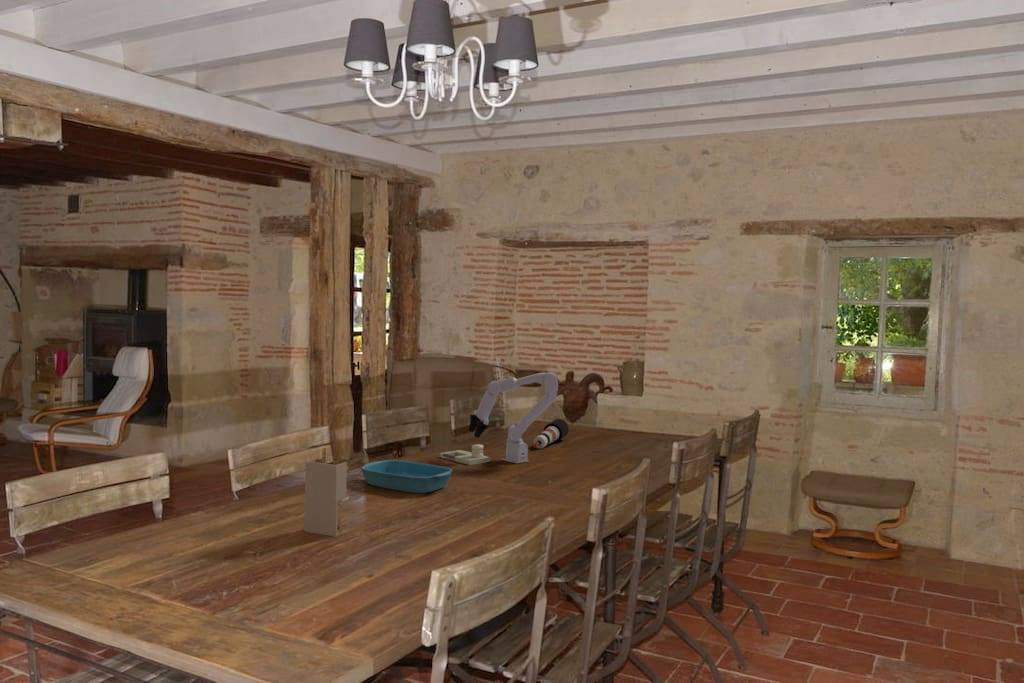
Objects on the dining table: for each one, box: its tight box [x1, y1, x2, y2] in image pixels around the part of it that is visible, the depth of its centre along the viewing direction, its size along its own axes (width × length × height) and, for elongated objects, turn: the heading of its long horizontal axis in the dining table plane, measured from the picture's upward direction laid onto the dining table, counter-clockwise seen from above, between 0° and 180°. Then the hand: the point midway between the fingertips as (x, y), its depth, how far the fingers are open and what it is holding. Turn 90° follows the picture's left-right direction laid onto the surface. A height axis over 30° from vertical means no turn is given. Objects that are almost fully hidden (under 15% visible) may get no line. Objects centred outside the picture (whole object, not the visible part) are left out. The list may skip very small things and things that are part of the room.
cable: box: [532, 418, 569, 449], centre depth 402 cm, size 10×34×10 cm, turn 154°
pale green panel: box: [439, 449, 491, 466], centre depth 359 cm, size 20×12×2 cm, turn 45°
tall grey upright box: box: [303, 447, 350, 538], centre depth 245 cm, size 8×12×26 cm
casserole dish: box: [361, 459, 453, 494], centre depth 308 cm, size 37×22×7 cm, turn 60°
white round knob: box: [471, 443, 484, 458], centre depth 356 cm, size 5×5×5 cm
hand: (473, 434), depth 360 cm, fingers open, 7 cm apart
